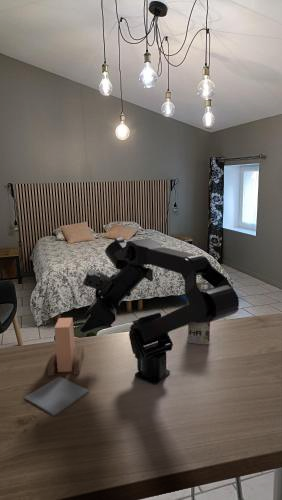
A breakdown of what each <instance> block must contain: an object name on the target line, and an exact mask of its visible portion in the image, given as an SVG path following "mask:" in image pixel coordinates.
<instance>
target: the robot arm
mask: <svg viewBox="0 0 282 500" xmlns="http://www.w3.org/2000/svg"><path fill="white" fill-rule="evenodd" d="M104 254H105V255H106V257H107V258H108V259H109V261H110V262H111V264H112V265H113V266H114V268H115V269H116V270H118V272H117V273H113V274H112V275H110V276H108V275H106V274H104V273H102V272H99V271H96V270H94V269H91V268H89V269H88V271H87V273H86V276H85V277H84V280H83V282H82V284H83V285H84V286H85V287H89V288H92V289H94V290H95V291H94V292H95V294H94V296H95V298H94V300H93V301H92V303H91V304H90V307H89V308H88V310H87V311H86V313H85V314H84V316H85V318H86V320H85V321H84V323H83V324H82V326H80V329H79V331H80V332H81V333H86V332H89V331H92V330H95V329H97V328H101V327H104V326H106V327H108V326H112V324H114V322H116V320H117V309H118V308H119V307H120V306H121V303H122V302H123V301H124V300H125V299H126V298H127V297H128V298H129V297H130V296H131V295H132V291H134V289H135V288H136V287H138V285H139V284H140V283H141V282H142V281H144V279H146V280H147V281H149V282H153V280H154V270H153V269H152V268H150V267H147V266H149V265H150V266H154V267H157V268H160V269H163V270H167V271H170V272H173V273H177V274H180V275H181V276H182V278H183V281H184V294H185V295H184V296H185V297H186V299H187V304H185V305H184V306H182V307H180V308H178V309H175V310H173V311H171V312H169V313H167V314H165V315H163V316H162V314H161V311H158V312H155V313H152V314H148V315H145V316H141V317H140V318H138V319H136V320H132V321H131V323H132V324H131V325H130V328H129V332H128V337H129V341H130V346H131V351H132V354H133V355H134V358H135V359H136V360H137V362H136V363H137V366H136V367H137V371H136V373H135V374H134V377H135V378H137V379H140V380H143V381H145V382H148V383H151V384H152V385H158V384H159V383H160V382H162V380H164V379H165V378H166V377H167V376H168V375H169V374H170V373H171V370H169V369H167V352H169V351H172V349H173V346H174V343H173V341H172V339H171V337H170V336H169V333H170V332H173V331H176V330H178V329H181V328H184V327H186V326H188V325H189V324H191V323H197V324H199V323H209V322H210V323H211V322H214V321H218V320H220V319H221V320H222V319H223V318H226V317H229V316H232V315H234V314H237V312H238V311H239V307H240V305H239V304H240V300H239V296H238V294H237V292H236V291H235V289H234V287H233V286H232V284H231V283H230V281H229V280H228V278H227V277H226V276H225V275H224V274H223V273H221V272H220V271H219V269H217V268H215V267H214V266H213V265H212V264H211V262H210V261H209V259H208V258H207V256H205V255H204V254H203V255H202V254H193V253H190V252H187V251H186V252H185V251H181V250H177V249H173V248H169V247H164V246H161V244H160V242H158V241H156V240H155V239H152V238H143V239H133V240H127V241H126V242H125V240H124V238H123V237H115V238H114V241H112V242H110V243H109V244H108V246H107V247H105V251H104ZM197 276H200V277H201V278H202V279H203V280H204V281H206V283H210V284H211V286H212V287H211V289H207V290H204V291H200V290H199V288H198V287H197V283H198V282H197Z"/></svg>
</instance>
